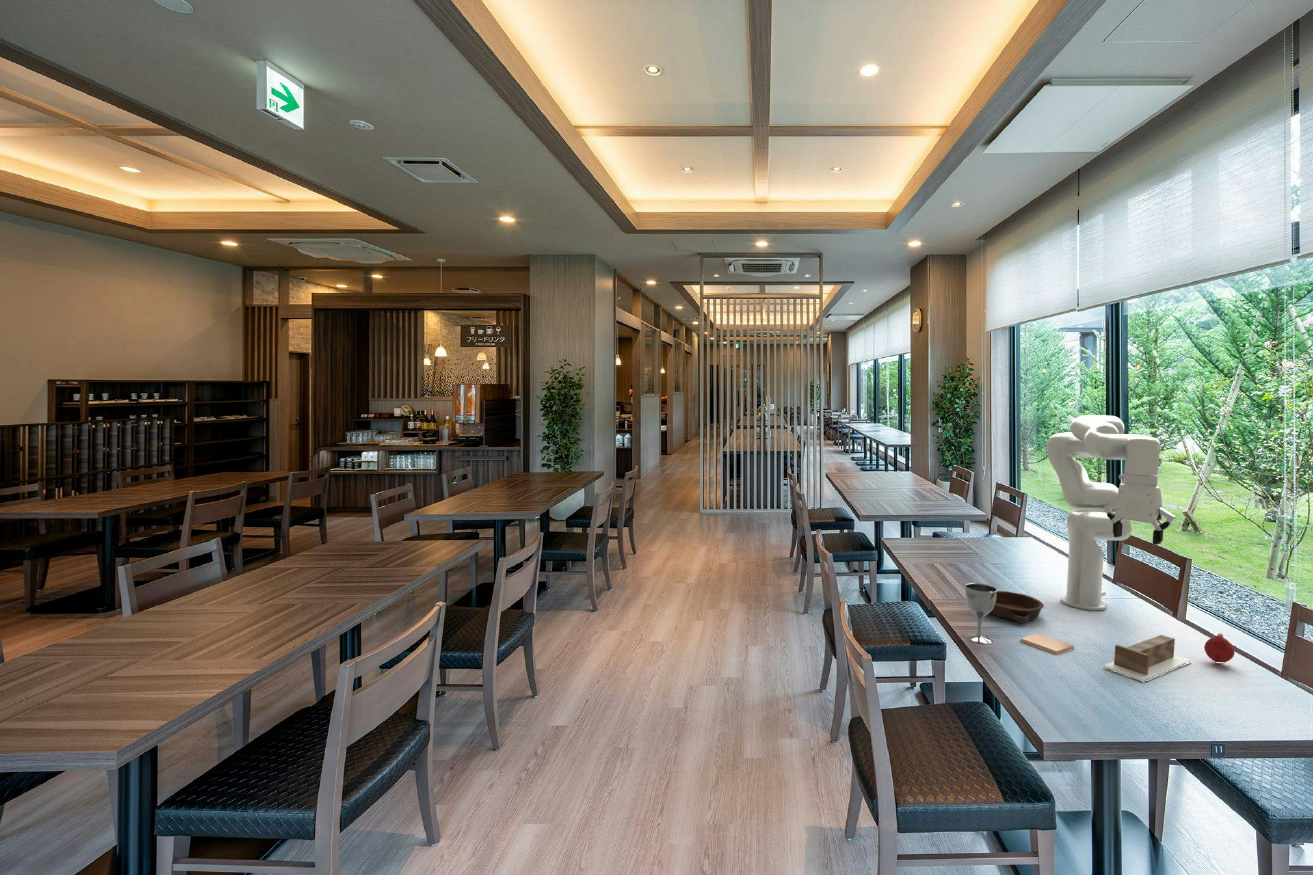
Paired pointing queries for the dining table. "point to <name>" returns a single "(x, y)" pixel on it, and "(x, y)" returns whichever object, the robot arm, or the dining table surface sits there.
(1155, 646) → the brown wooden brick
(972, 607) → the wine glass
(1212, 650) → the onion
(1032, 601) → the dish
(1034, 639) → the wooden picture frame
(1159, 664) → the board
